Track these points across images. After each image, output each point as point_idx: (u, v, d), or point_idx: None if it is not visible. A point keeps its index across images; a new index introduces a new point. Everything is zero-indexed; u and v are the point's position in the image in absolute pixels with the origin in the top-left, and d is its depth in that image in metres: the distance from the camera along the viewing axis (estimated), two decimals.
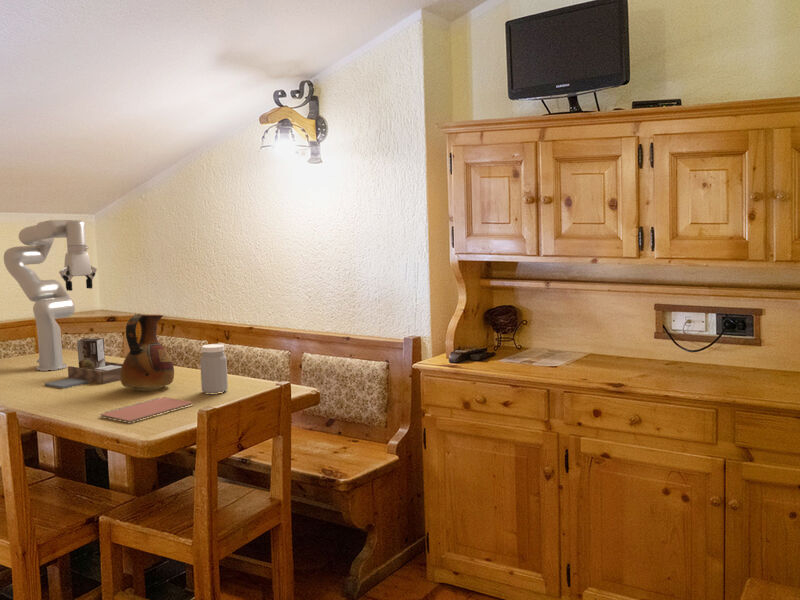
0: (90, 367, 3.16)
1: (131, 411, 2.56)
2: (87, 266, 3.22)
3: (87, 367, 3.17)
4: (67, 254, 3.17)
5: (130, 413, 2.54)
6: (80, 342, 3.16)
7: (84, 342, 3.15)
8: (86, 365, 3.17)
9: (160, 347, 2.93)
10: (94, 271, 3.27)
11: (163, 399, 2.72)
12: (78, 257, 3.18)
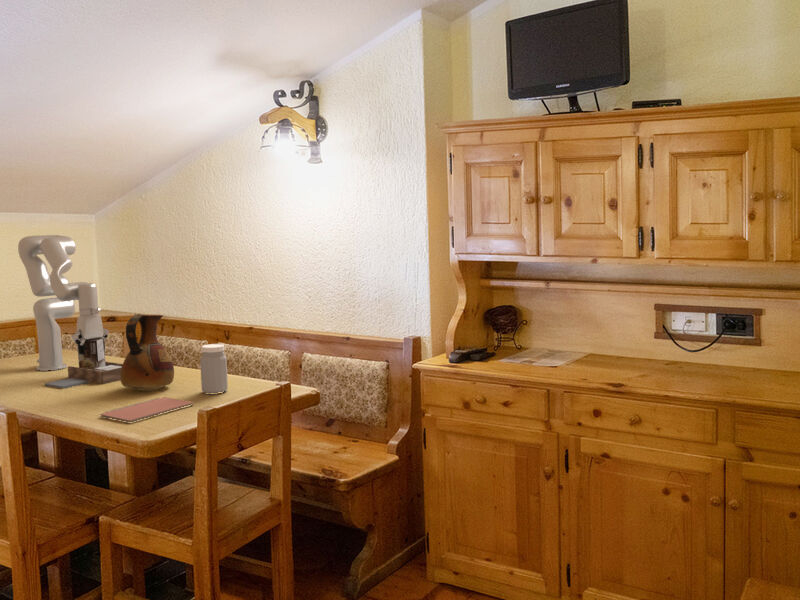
0: (90, 367, 3.16)
1: (131, 411, 2.56)
2: (99, 329, 3.19)
3: (87, 367, 3.17)
4: (79, 318, 3.14)
5: (130, 413, 2.54)
6: None
7: (84, 342, 3.16)
8: (86, 365, 3.17)
9: (160, 347, 2.93)
10: (106, 333, 3.24)
11: (163, 399, 2.72)
12: (90, 320, 3.15)
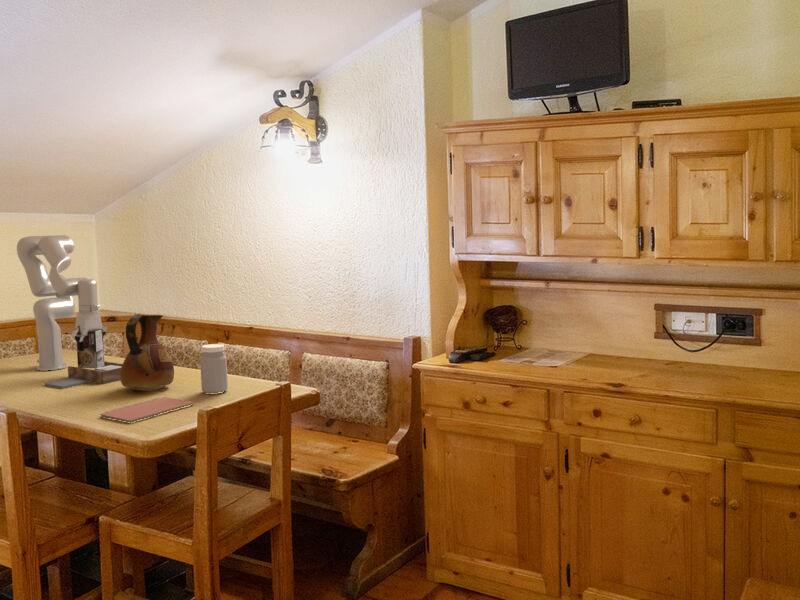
0: (88, 357, 3.16)
1: (131, 411, 2.56)
2: (98, 325, 3.19)
3: (85, 357, 3.17)
4: (78, 314, 3.14)
5: (130, 413, 2.54)
6: (79, 332, 3.16)
7: None
8: (84, 355, 3.17)
9: (160, 347, 2.93)
10: (105, 330, 3.24)
11: (163, 399, 2.72)
12: (89, 317, 3.15)
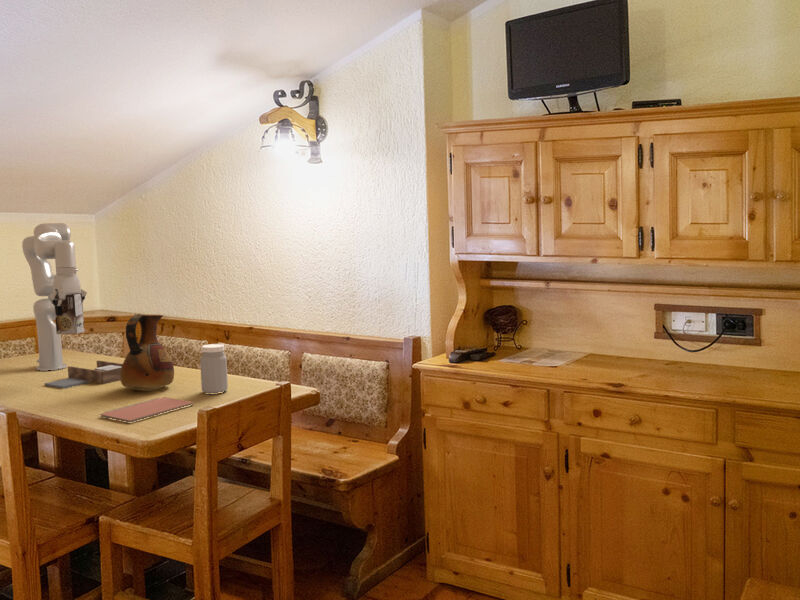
0: (67, 323, 3.03)
1: (131, 411, 2.56)
2: (77, 289, 3.06)
3: (64, 323, 3.03)
4: (56, 277, 3.00)
5: (130, 413, 2.54)
6: (57, 296, 3.02)
7: None
8: (63, 321, 3.03)
9: (160, 347, 2.93)
10: (84, 295, 3.11)
11: (163, 399, 2.72)
12: (67, 280, 3.02)
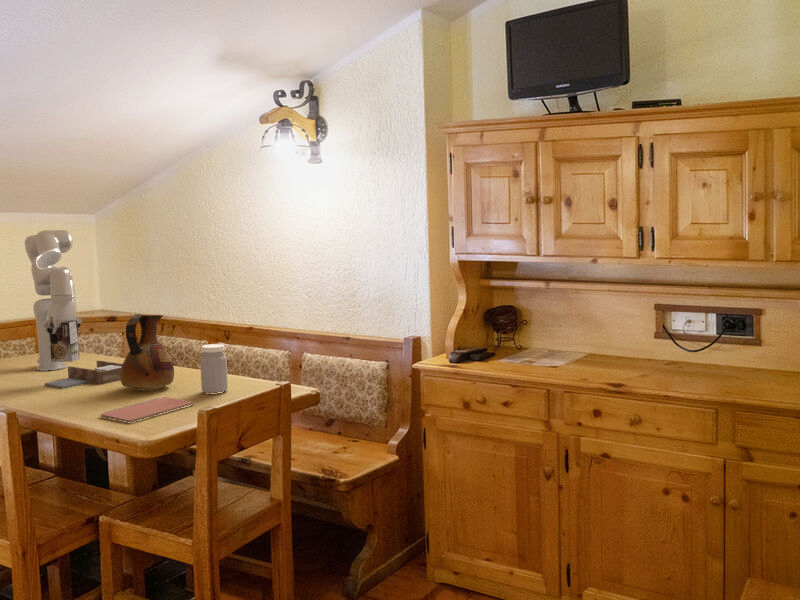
0: (62, 351, 3.01)
1: (131, 411, 2.56)
2: (72, 316, 3.04)
3: (59, 351, 3.01)
4: (51, 305, 2.98)
5: (130, 413, 2.54)
6: (52, 324, 3.00)
7: None
8: (58, 349, 3.01)
9: (160, 347, 2.93)
10: (79, 322, 3.08)
11: (163, 399, 2.72)
12: (62, 308, 3.00)
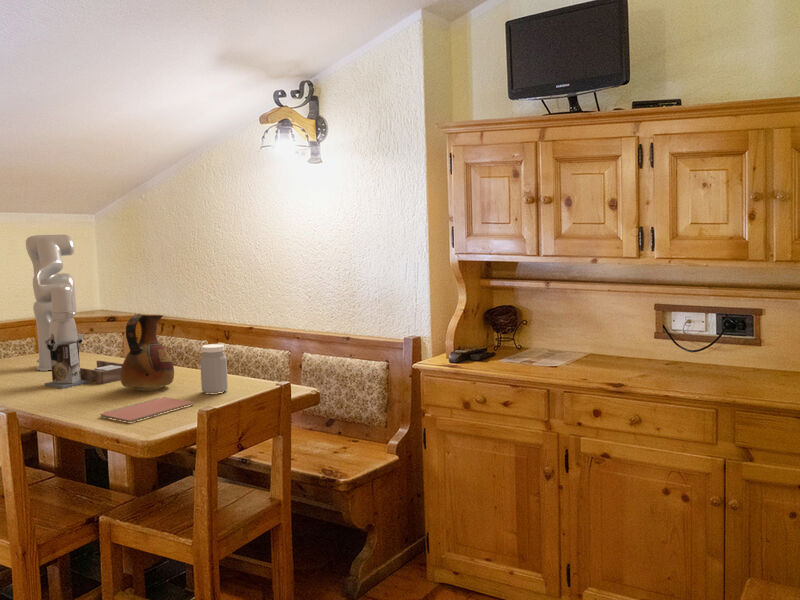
0: (63, 372, 3.02)
1: (131, 411, 2.56)
2: (73, 333, 3.04)
3: (60, 372, 3.02)
4: (52, 322, 2.99)
5: (130, 413, 2.54)
6: None
7: None
8: (59, 370, 3.02)
9: (160, 347, 2.93)
10: (81, 338, 3.09)
11: (163, 399, 2.72)
12: (63, 325, 3.00)
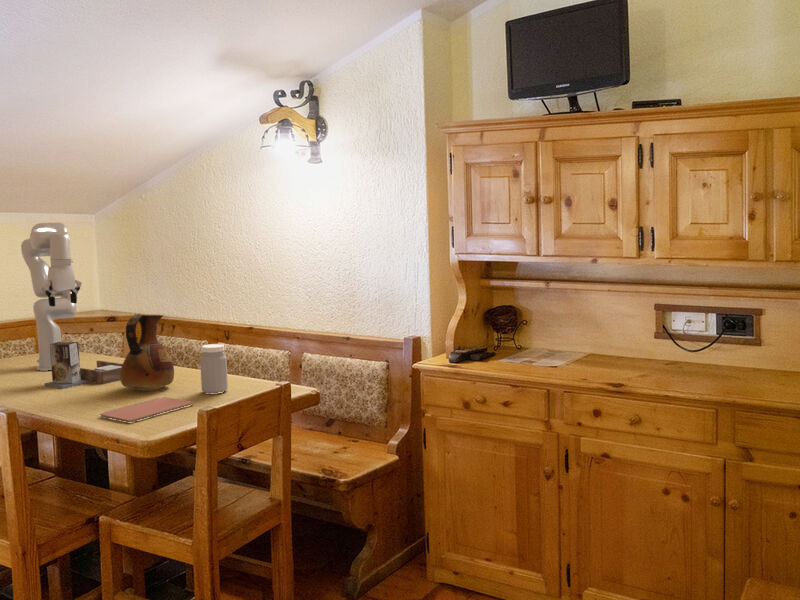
0: (63, 372, 3.02)
1: (131, 411, 2.56)
2: (71, 280, 3.09)
3: (60, 372, 3.02)
4: (50, 268, 3.03)
5: (130, 413, 2.54)
6: (53, 346, 3.01)
7: (57, 346, 3.01)
8: (59, 370, 3.02)
9: (160, 347, 2.93)
10: (79, 285, 3.14)
11: (163, 399, 2.72)
12: (62, 271, 3.05)
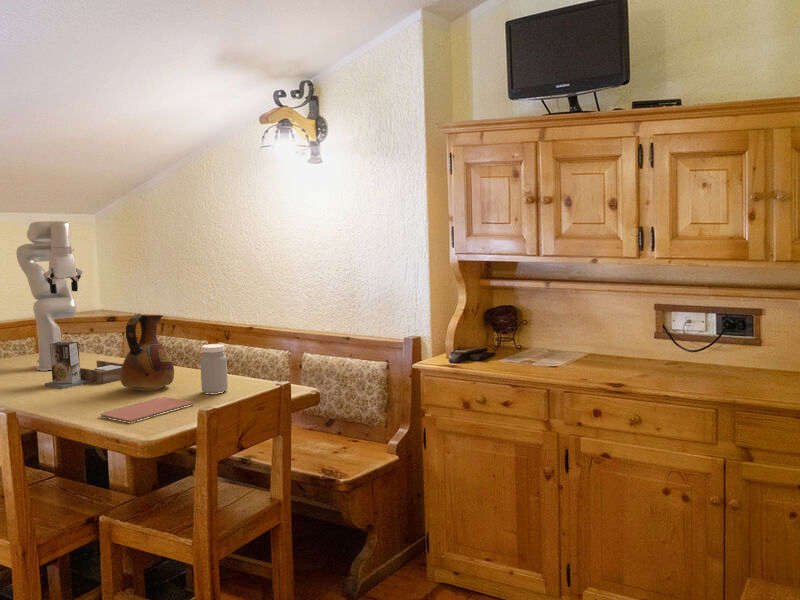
0: (63, 372, 3.02)
1: (131, 411, 2.56)
2: (72, 268, 3.15)
3: (60, 372, 3.02)
4: (51, 256, 3.09)
5: (130, 413, 2.54)
6: (53, 346, 3.01)
7: (57, 346, 3.01)
8: (59, 370, 3.02)
9: (160, 347, 2.93)
10: (79, 273, 3.20)
11: (163, 399, 2.72)
12: (63, 259, 3.11)
